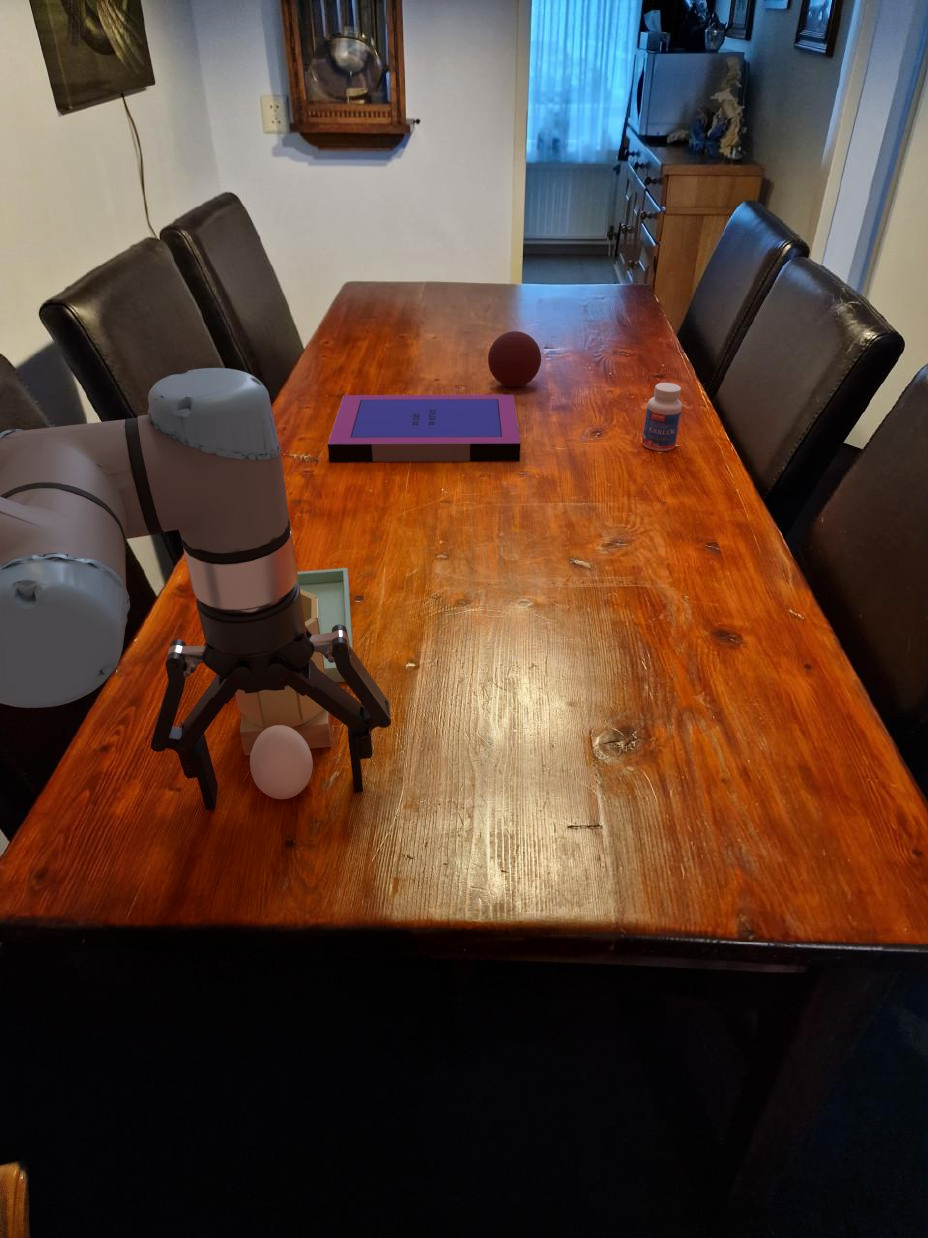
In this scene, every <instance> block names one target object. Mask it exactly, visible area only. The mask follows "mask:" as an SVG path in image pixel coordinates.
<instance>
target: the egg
mask: <svg viewBox="0 0 928 1238" xmlns="http://www.w3.org/2000/svg"><path fill="white" fill-rule="evenodd" d="M249 767H250V774H251V778H252V779H253V783H254V784H255V785H256V787H257V788H258V789H259V790H260V791H261V792H262V793H263V794H265V795H266V796H268V797H270V798H272V799H276V800H287V799H291V798H294V797H295V796H297V795H299V794H300V793H302V791H303V790H305V788H306V787H307V786H308V785H309V782H310V781H311V778H312V774H313V768H314V761H313V756H312V752H311V749H309V747H308V744H307V743H306V741H305V740H304V739H303V738H302V736H301V735H300V734H299V733H298V732H297V731H295V730H294V729H292V728H290V727H288V726H284V725H275V726H272V727H269V728H267V729H266V730H264V731H263V732H262V733H261V734H260V735H259V736H258V738H257V739H256V741H255V743H254V745H253V748H252V751H251V755H249Z"/></svg>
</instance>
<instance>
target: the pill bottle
mask: <svg viewBox="0 0 928 1238" xmlns="http://www.w3.org/2000/svg"><path fill="white" fill-rule="evenodd" d="M681 391H682V387H681V386H680V385H678V384H676V383H672V382H659V383H657V384H656V385H655V386H654V390H653V397H651V398H649V400H648V402H647V406H646V412H645V418H644V425H643V432H642V440H641V443H642V445H643V447H645V448H647V449H648V450H652V451H655V452H656V451H657V452H666V451H671V450H673V449H674V448H675V446H676V444H677V439H678V433H679V427H680V421H681V416H682V410H683V403H682V401H681V400H680V399H679V398H680V397H681Z"/></svg>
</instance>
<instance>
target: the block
mask: <svg viewBox="0 0 928 1238" xmlns="http://www.w3.org/2000/svg"><path fill="white" fill-rule="evenodd" d="M331 718H332V717H331V714H330V713H329V712H328V711H326V710H325V709H323V710H322V711H321V712H320V713H319V714H318V715H317V716H316V717H314V718H313V719H311V720H310V721H308V722H306V723H303V724H301V725H298V726H295V727H290V728H292V729H294V730H295V731H297V732H298V733H299V734H300V735H301V736H302V738H303V739H304V740H305V741H306V743H307V744H308V747H309V749H310V750H313V749H321V748H331V747H332V725H331V720H332V719H331ZM239 727H240V728H239V735H240V740H241V745H242V748H243V753H244V756H250V755H251V751H252V748H253V745H254V743H255V741H256V739H257V738H258V736H259V735H260V734H261V733H262V732H263V731H264V730H266V729H267V728H265V727H261V726H258V725H256V724H254V723H252V722H251V721H250V720H248V719H247V718H246V716H245V715H244V714H242V713H241V719H240V726H239Z"/></svg>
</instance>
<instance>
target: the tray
mask: <svg viewBox="0 0 928 1238" xmlns="http://www.w3.org/2000/svg"><path fill="white" fill-rule="evenodd" d="M297 572H298V579H297V581H298V583H299V586H300V589H302V590H304V591H306V592H308V593H311V594H313V595H315V596H317V598H318V601H319V609H320V617H321V624H322V632H323V634H325V633H332V628H333V627H334V626H335V625H338V624H339V625H344V626H345V627H346V629H347V633H348V638H349V644H350V647H351V648H352V650H353V651H354V642H353V640H354V639H353V626H352V624H353V623H352V605H351V592H350V591H351V589H350V577H349V568H348V567H340V568H339V567H338V568H328V569H317V570H316V569H315V570H301V571H297ZM326 663H327V670H328V677H329V678H330V679H332V680H333V681H334V682H335V683H345V682H346V681H345V680H344V679H343V677H342V676H341V675H340V673H339V671H338V670H337V667H336V664H335V662H334V663H330V662H329V661H328V659H326Z"/></svg>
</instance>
